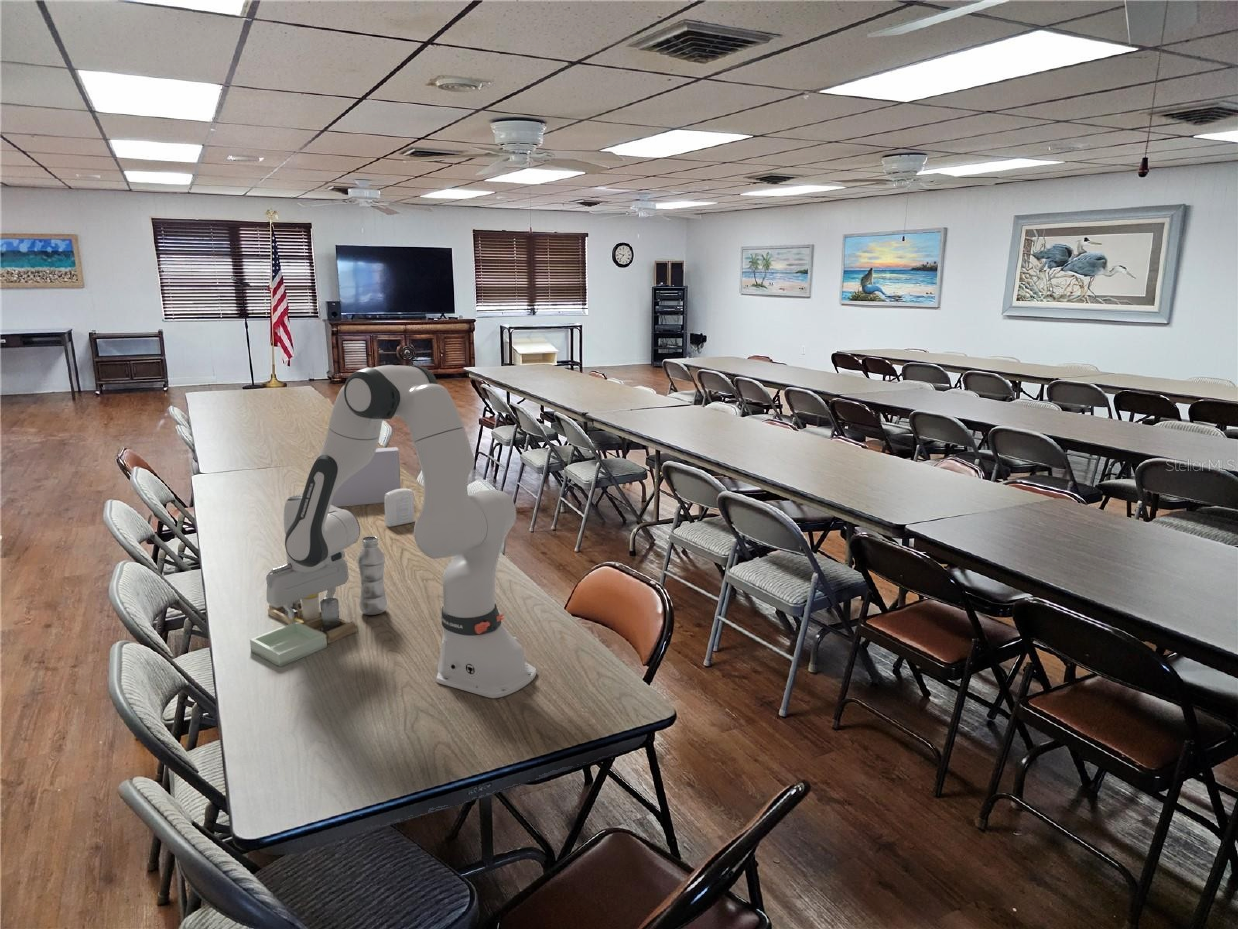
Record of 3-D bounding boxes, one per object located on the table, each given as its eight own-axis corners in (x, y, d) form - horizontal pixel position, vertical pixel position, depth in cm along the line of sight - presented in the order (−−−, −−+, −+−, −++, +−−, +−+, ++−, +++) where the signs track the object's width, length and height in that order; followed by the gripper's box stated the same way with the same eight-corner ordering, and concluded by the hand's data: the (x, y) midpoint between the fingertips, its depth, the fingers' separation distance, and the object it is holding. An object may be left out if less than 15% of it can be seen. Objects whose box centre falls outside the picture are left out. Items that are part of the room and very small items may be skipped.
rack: (356, 631, 182) (356, 622, 182) (328, 643, 176) (327, 633, 176) (296, 604, 196) (295, 595, 196) (268, 614, 190) (267, 605, 189)
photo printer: (410, 519, 266) (409, 485, 263) (416, 522, 263) (415, 488, 260) (383, 525, 259) (381, 490, 256) (389, 528, 256) (387, 493, 253)
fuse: (324, 622, 187) (321, 592, 185) (309, 628, 184) (306, 597, 182) (314, 617, 189) (312, 588, 187) (299, 623, 186) (296, 593, 184)
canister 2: (343, 631, 182) (341, 600, 180) (329, 637, 179) (326, 606, 177) (333, 626, 185) (331, 596, 183) (319, 632, 181) (316, 602, 179)
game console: (323, 504, 280) (319, 451, 275) (398, 497, 291) (396, 446, 286) (324, 508, 275) (320, 455, 270) (401, 501, 286) (399, 450, 281)
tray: (326, 647, 175) (326, 635, 174) (280, 667, 165) (278, 654, 165) (297, 633, 181) (296, 621, 180) (250, 651, 172) (249, 639, 171)
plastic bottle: (359, 609, 195) (354, 535, 190) (386, 605, 197) (382, 533, 192) (360, 619, 189) (355, 544, 184) (388, 616, 191) (384, 541, 186)
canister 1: (304, 613, 191) (302, 584, 189) (290, 619, 188) (287, 589, 186) (295, 609, 193) (293, 580, 191) (281, 614, 190) (278, 585, 188)
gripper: (273, 574, 172) (278, 630, 176) (350, 549, 188) (353, 601, 192) (258, 567, 176) (263, 622, 179) (335, 544, 192) (338, 594, 195)
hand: (310, 611), depth 186 cm, fingers open, 8 cm apart
